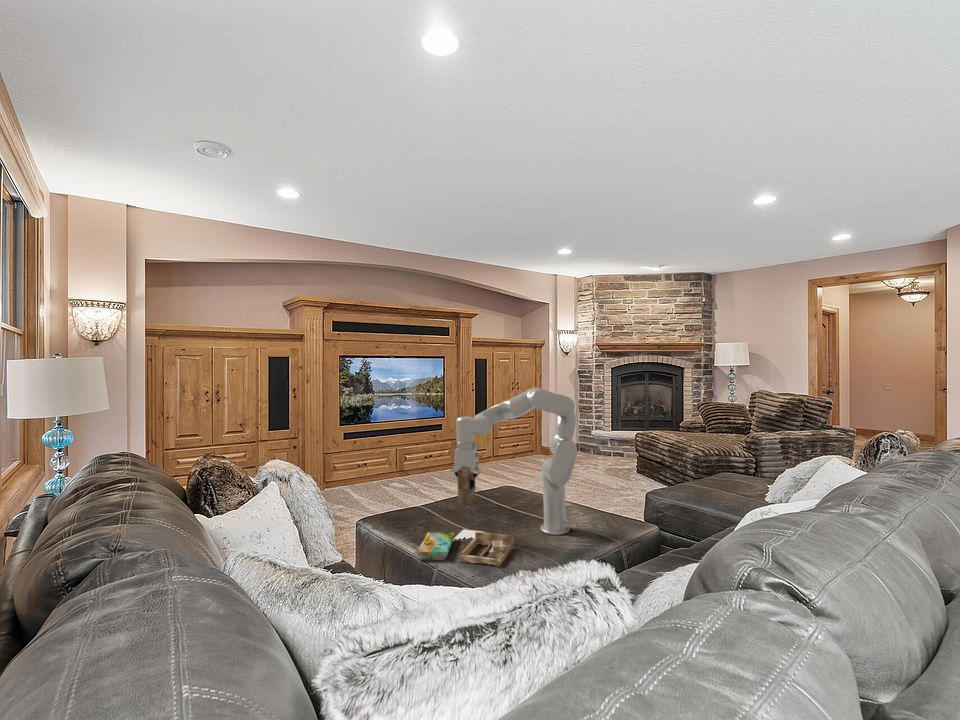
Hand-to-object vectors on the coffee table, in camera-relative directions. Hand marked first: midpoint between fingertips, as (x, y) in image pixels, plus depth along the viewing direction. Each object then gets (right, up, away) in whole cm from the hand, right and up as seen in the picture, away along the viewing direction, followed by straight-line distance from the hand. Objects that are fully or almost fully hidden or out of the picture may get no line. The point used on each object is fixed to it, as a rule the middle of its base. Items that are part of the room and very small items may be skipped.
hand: (466, 487), depth 221 cm
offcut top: (+13, -19, -19) cm, 30 cm away
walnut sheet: (0, -5, 0) cm, 5 cm away
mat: (+1, -21, +1) cm, 22 cm away
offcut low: (+13, -22, -19) cm, 32 cm away
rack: (+9, -22, -18) cm, 30 cm away
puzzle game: (-12, -23, -13) cm, 29 cm away
